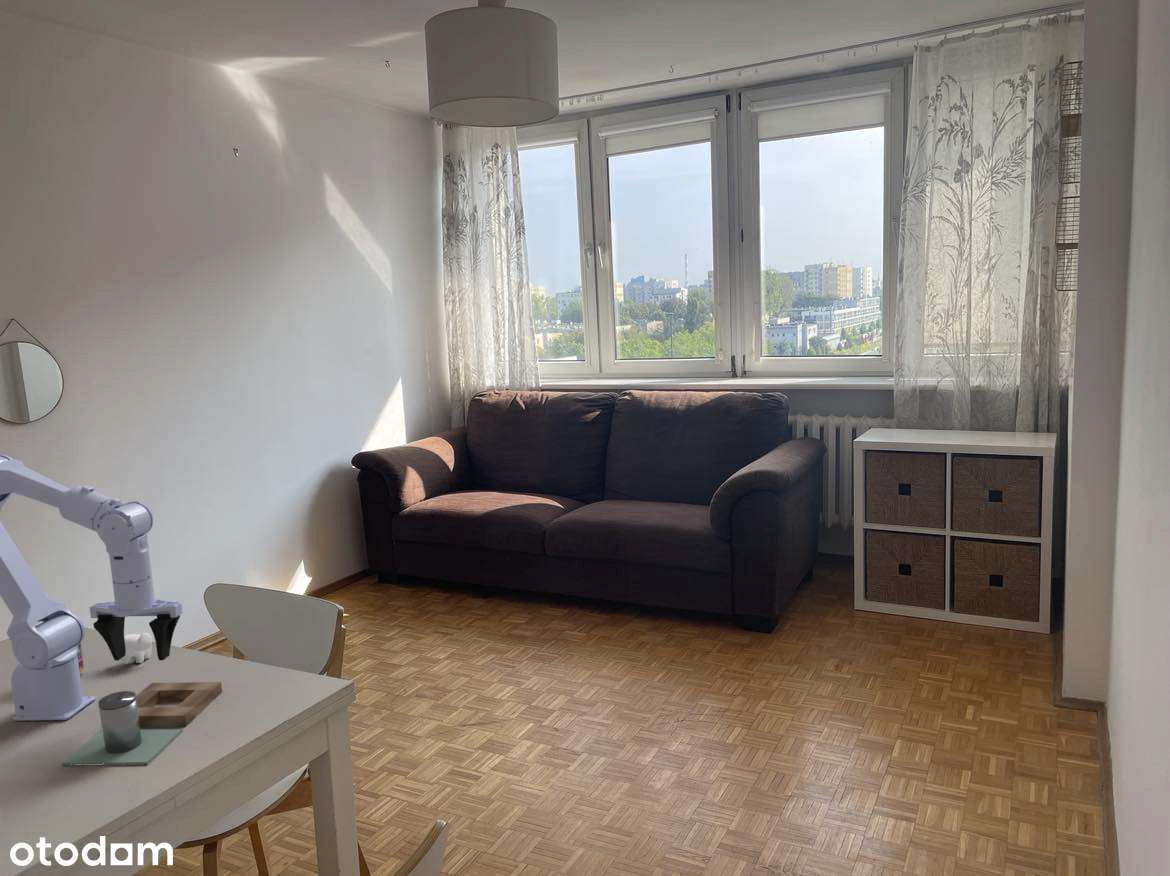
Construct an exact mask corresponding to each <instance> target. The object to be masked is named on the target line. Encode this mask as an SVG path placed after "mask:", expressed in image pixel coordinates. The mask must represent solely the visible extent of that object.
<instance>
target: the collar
mask: <svg viewBox="0 0 1170 876" xmlns="http://www.w3.org/2000/svg"><path fill="white" fill-rule="evenodd" d="M222 693H223V686H222V681H200V682H199V681H198V682H195V681H194V682H193V681H191V682H190V681H189V682H186V681H185V682H151V683H149V684H148V685H147V686H146V687H145V688H143V689H142V690H141V691H140V692H139V693H138V694H136V701H137V708H138V715H139V723H140V728H143V727H144V728H145V727H148V728H149V727H187V726H188V725H189V724H190V723H191V722H193V721H194V719H195V718H196V717H198V716H199V715H200V714H201V713H202V712H203V711H204V710H205V709H206V708H207V707H208V706H209V705H210V704H211V703H212V702H213V701H214V700H215V699H216V698H218V697H219V695H220V694H222ZM161 701H181V702H180V703H179V704H178V705H177V706H168V707H167V706H165V707H164V706H162V707H161V706H159V707H157V706H156V704H158V703H160V702H161ZM155 706H156V707H155Z"/></svg>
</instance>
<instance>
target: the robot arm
mask: <svg viewBox="0 0 1170 876" xmlns="http://www.w3.org/2000/svg"><path fill="white" fill-rule="evenodd" d="M12 494H16V495H20V496H22V497H26V498H28V499H31V500H33V501H36V502H40V503H43V504H46V505H48V506H50V507H54V508H57V509H58V511H59V514H60V516H61V517H62V519H64V520H67V521H69V522H71V523H74V524H77V525H79V526H82V527H83V528H86V529H88V530H91V531H93V532H96V534H97V536H98V537H99V539H100V540H101V541H102V542H103V543H104V545H105V548H106V549H105V550H106V553H108V556H109V563H110V571H111V581H112V588H113V596H114V601H109V602H108V601H107V602H106V601H105V602H96V603H95V604H93V605H90V606H89V612H90V613H89V614H90V618H91V619H96V621H95V622H93V628H94V630H95V631H97V633H99V635H100V636H101V637H102V638H103V640H104V641H105V643H106V645H107V647H108V649H109V651H110V653H111V655H112V658H113V660H114V661H121V658H123V657H124V656H125V653H126V648H125V639H124V636H125V621H126V618H128V617H156V618H154V619H152V620H151V621H149V623H148V624H149V627H150V629H151V632H152V634H153V637H154V642H155V647H156V653H157V658H158V660H159V661H165V659H167V658H169V656H170V655H171V654H170V653H171V646H172V645H171V644H172V640H173V636H174V633H175V629H176V626H177V624H178V622H179V619H180V617H181V614H183V606H182V601H170V600H163V599H162V600H161V599H156V597H155V591H154V583H153V582H154V581H153V574H152V566H151V564H152V563H151V558H150V557H151V556H150V548H149V541H148V533H149V532H150V531H151V530H152V528H153V525H154V518H153V514H152V512H151V510H150V509H149V508H148V507H147V505H144V504H143V503H141V502H140V501H136V500H133V501H129V502H122V500H121V498H118V497H113V498H112V497H110V496H107V495H105V494H103V493H101V492H98V491H95V487H94V486H92V485H89V484H87V485H85V486H82V485H79V486H74V487H73V488H69V487H67V486H66V485H64V484H61V483H59V482H56V481H55V480H53V479H51V478H49V477H46V476H45V475H43V474H41V473H39V472H36V471H35V470H32V469H31V468H28V467H26V466H25V465H24V464H23V461H21V460H19V459H15V458H12V457H11V456H9V455H6V454H0V511H1V510H2V508H3V506H4V505H5V503H6V502H7V501H8V499H10V496H11V495H12ZM0 597H1V599H2V600H3V602H4V604H5V606H6V607H7V609H8V610H9V612H10V613H11V615H12V618H11V622H10V624H9V627H8V628H7V631H6V634H7V636H8V638H9V640H10V642H11V646H12V652H13V654H14V655H13V656H14V657H15V659H16V660H17V662H18V664H17V665H16V666H15V667H14V669H13V670H12V673H11V674H12V675H11V679H10V680H11V681H10V684H11V691H12V698H13V704H14V710H15V715H14V716H12V721H66V720H69V719H71V718H72V717H73V716H74V715H76V714H77V713H78V712H80V711H81V710H82V709H83V708H85V707H87V706H88V705H89V704H90V703H92V702H93V701H95V700H96V696H95V695H83V687H82V680H81V675H80V672H79V664H78V657H77V652H78V651H79V646H78V645H79V644H80V643H82V642H83V640H84V637H85V634H86V633H85V631H86V630H85V625H84V624H83V622H82V620H81V619H80V618H79V617H78V616H77V615H75V614H74V613H73V612H72V611H70V610H69V608H68V607H67V606H66V604H65V602H61V601H57V600H54V599H52V598H49V597H48V596H47V594H46V592H45V591H44V589H43V587H42V586H41V584H40V583H39V582H38V580H37V578H36V576H35V575H34V573H33V571H32V570H31V568H30V567H29V565H28V563H27V562H26V560H25V559H24V557H23V555H22V554H21V552H20V551H19V549H18V547H17V546H16V545H15V543H14V541H13V539H12V538H11V536H10V534H9V533H8V532H7V530H6V528H5V526H4V525H3V524H2V522H1V521H0ZM39 622H41V623H39ZM37 623H39V624H37ZM36 624H37V625H36Z"/></svg>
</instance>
